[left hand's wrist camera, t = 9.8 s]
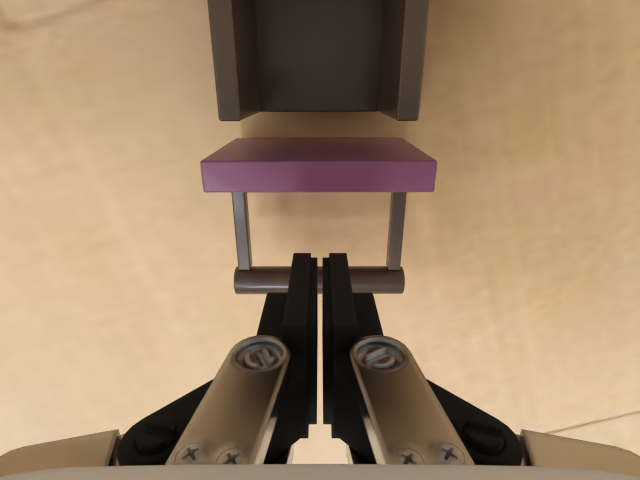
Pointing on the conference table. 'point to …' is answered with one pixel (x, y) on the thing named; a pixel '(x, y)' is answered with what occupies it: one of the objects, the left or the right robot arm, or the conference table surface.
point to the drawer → (318, 96)
